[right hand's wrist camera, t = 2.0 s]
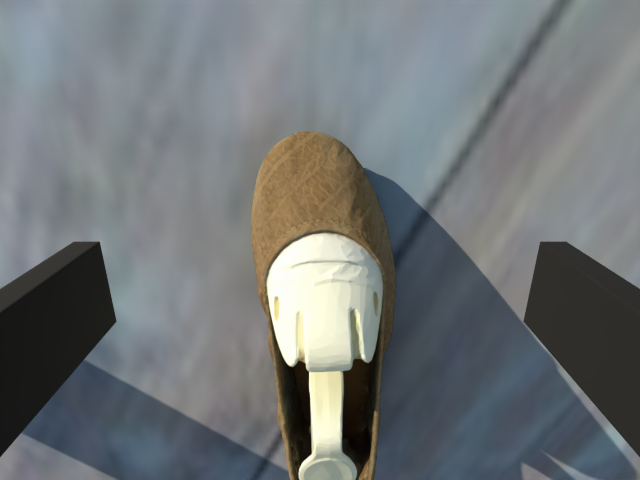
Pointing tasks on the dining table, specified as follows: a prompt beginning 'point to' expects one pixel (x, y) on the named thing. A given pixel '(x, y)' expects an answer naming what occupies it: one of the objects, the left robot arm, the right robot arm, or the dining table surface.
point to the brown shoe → (324, 302)
